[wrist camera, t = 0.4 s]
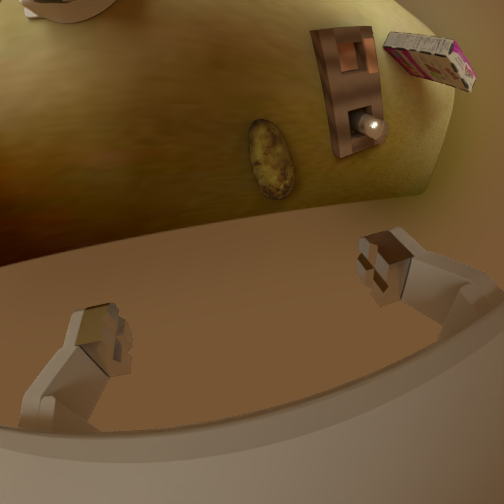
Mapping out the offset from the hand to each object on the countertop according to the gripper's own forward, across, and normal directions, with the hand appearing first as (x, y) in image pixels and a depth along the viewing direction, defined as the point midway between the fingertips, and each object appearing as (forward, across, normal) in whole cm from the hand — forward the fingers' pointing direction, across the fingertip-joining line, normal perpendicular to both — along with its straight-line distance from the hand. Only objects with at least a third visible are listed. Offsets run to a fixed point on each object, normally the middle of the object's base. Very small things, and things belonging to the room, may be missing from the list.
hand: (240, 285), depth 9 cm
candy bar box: (+45, -43, -8) cm, 63 cm away
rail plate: (+43, -28, 0) cm, 51 cm away
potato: (+41, -10, +10) cm, 43 cm away
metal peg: (+44, -29, +6) cm, 53 cm away
